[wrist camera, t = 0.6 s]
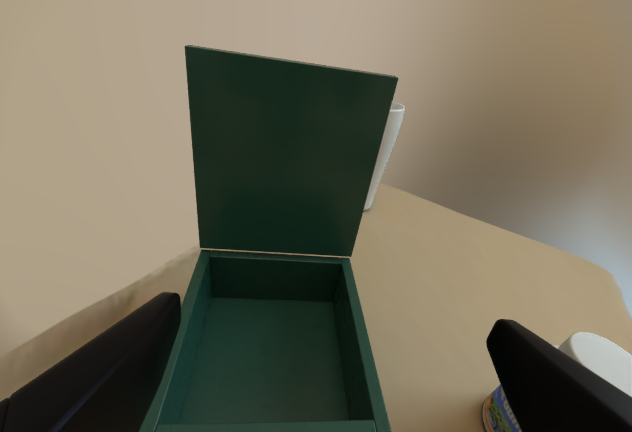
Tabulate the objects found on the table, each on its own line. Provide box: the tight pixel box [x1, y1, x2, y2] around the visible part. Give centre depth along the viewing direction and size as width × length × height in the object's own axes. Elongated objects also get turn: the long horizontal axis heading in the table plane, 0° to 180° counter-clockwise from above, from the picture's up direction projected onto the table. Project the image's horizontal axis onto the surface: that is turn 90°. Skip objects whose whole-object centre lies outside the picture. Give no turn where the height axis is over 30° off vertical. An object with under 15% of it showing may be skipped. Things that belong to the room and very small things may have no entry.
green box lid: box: [185, 45, 398, 257], centre depth 23 cm, size 14×13×4 cm
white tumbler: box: [363, 100, 405, 211], centre depth 42 cm, size 7×7×15 cm
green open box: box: [139, 250, 391, 432], centre depth 22 cm, size 14×13×6 cm
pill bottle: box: [483, 332, 632, 432], centre depth 20 cm, size 5×5×10 cm
